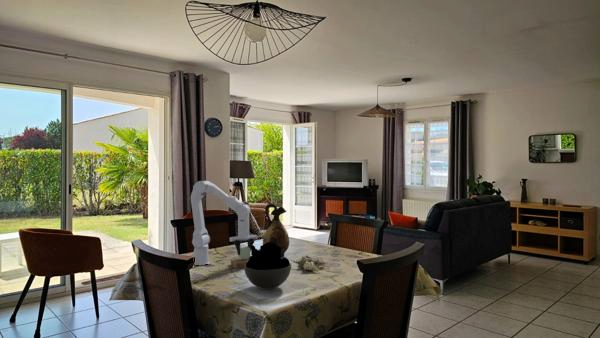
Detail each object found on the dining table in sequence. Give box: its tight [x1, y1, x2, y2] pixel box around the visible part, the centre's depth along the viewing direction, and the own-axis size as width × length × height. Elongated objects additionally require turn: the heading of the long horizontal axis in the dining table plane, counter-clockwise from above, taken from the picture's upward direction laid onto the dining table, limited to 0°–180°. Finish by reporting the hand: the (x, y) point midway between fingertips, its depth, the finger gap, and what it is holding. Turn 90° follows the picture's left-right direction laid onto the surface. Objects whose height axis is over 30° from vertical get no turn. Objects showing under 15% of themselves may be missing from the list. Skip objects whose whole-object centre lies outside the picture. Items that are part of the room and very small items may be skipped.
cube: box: [237, 245, 251, 259], centre depth 210 cm, size 5×5×5 cm
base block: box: [230, 257, 249, 270], centre depth 210 cm, size 11×11×3 cm
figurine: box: [290, 254, 331, 272], centre depth 202 cm, size 20×6×17 cm
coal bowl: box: [243, 242, 292, 290], centre depth 171 cm, size 20×20×19 cm
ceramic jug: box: [262, 203, 290, 258], centre depth 233 cm, size 17×15×30 cm
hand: (243, 254), depth 210 cm, fingers closed on cube, 5 cm apart
